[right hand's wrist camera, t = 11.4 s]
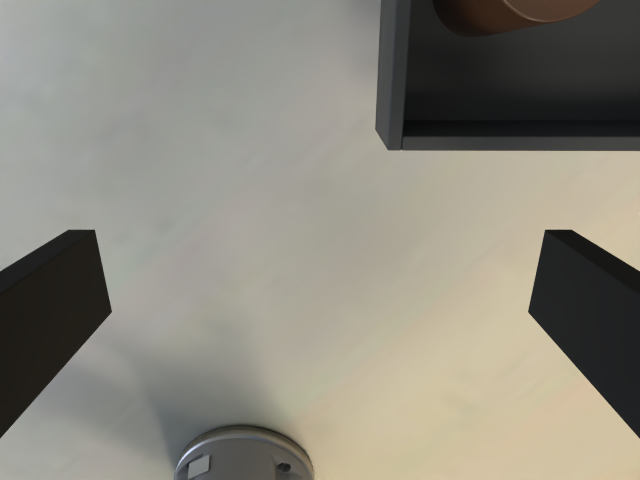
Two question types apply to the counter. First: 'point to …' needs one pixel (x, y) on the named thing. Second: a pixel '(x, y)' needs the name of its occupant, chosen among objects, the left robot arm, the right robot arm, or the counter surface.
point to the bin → (510, 82)
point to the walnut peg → (505, 14)
